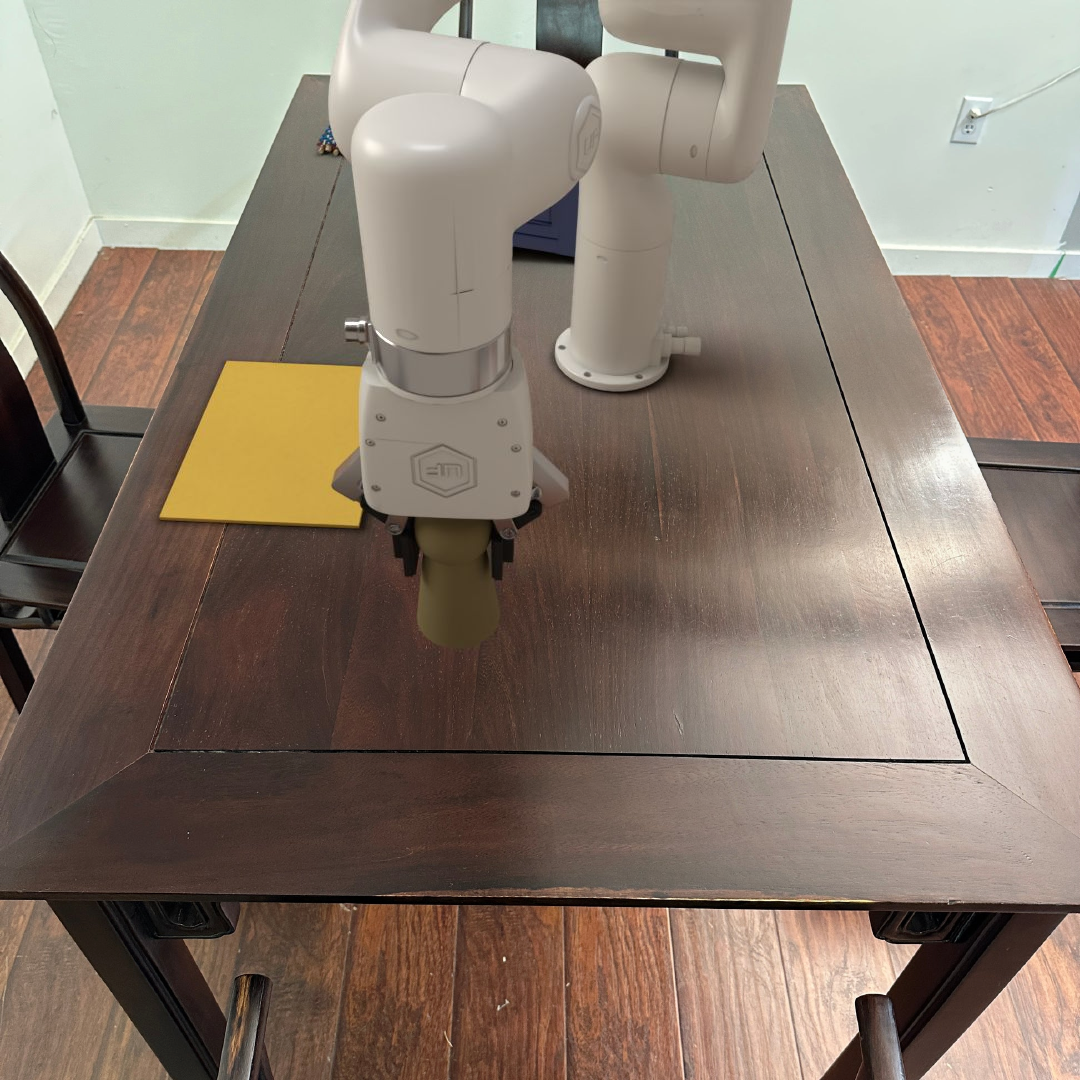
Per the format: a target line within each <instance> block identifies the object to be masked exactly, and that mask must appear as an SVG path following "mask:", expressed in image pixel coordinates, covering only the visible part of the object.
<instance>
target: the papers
mask: <svg viewBox="0 0 1080 1080" xmlns="http://www.w3.org/2000/svg"><path fill="white" fill-rule="evenodd" d="M578 204H579V181H578V182H577V183H576V185H575V186H574V187H573V188H572V189H571V190H570V191H569V192H568V193H567V194H566V195H565V196H564V197H563V198H562V199H560V200H559V201H558V202H557V203H555V204H554V205H552V206H551V207H549V208H548V209H546V210H545V211H543V212H542V213H540V214H538V215H537V216H535V217H534V218H532V219H531V220H529V221H527V222H526V223H524V224H523V225H521V226H520V227H519V228H517V229H516V230H515V231H514V233H513V238H512V247H515V248H516V247H517V248H522V249H523V248H524V249H529V250H534V251H535V250H536V251H543V252H549V253H551V254H555V255H562V256H567V257H573V258H575V251H576V235H577V221H578Z"/></svg>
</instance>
